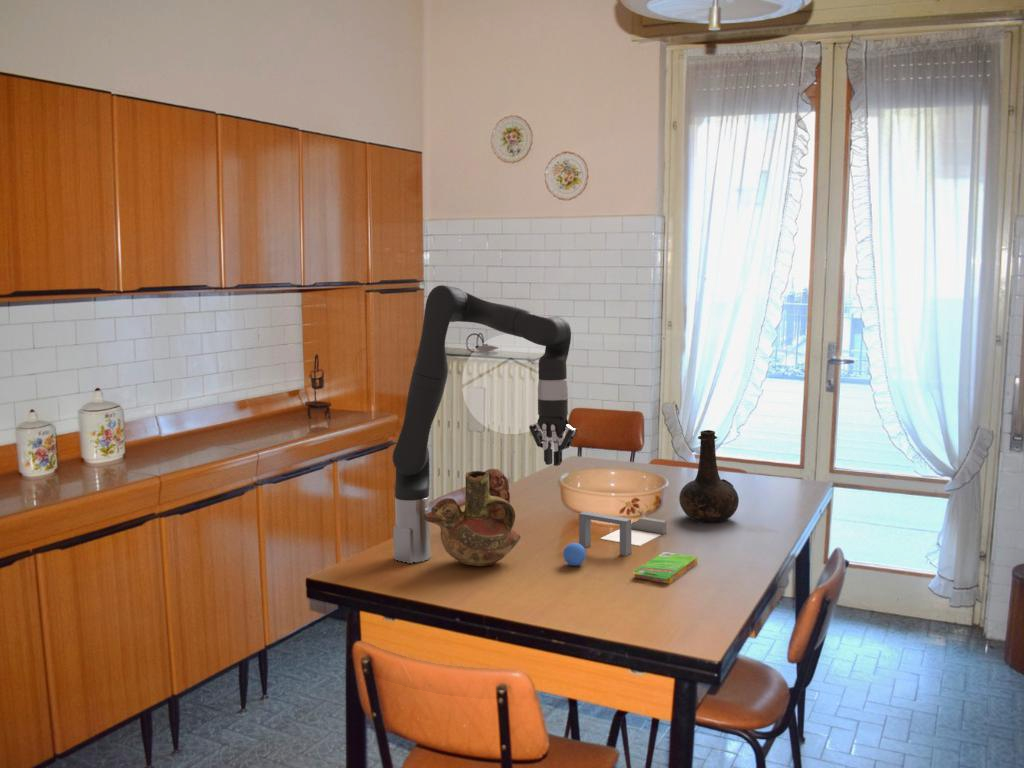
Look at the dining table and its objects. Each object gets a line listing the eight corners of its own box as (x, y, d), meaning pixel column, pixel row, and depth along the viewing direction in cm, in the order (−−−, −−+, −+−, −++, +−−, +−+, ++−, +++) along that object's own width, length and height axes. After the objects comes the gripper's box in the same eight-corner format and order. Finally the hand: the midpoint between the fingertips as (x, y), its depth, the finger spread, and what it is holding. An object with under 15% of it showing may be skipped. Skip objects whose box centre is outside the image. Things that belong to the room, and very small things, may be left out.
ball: (578, 570, 242) (578, 548, 241) (559, 566, 245) (558, 544, 244) (590, 564, 246) (590, 542, 246) (571, 560, 250) (570, 538, 249)
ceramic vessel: (420, 559, 253) (418, 469, 250) (512, 550, 259) (510, 462, 256) (431, 579, 236) (429, 483, 233) (529, 569, 243) (528, 475, 240)
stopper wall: (663, 534, 273) (663, 522, 273) (624, 527, 281) (624, 516, 281) (666, 532, 275) (666, 520, 275) (627, 525, 283) (627, 514, 282)
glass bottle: (749, 523, 284) (751, 433, 280) (699, 530, 277) (700, 438, 274) (716, 509, 300) (717, 424, 297) (668, 515, 293) (669, 428, 290)
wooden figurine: (490, 533, 277) (489, 474, 275) (474, 529, 281) (473, 471, 278) (514, 524, 286) (513, 466, 284) (498, 520, 290) (497, 464, 288)
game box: (697, 568, 246) (666, 586, 229) (663, 562, 251) (630, 580, 234) (698, 556, 246) (667, 574, 229) (663, 551, 251) (631, 568, 234)
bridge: (626, 555, 253) (626, 521, 252) (579, 546, 262) (579, 513, 261) (631, 553, 256) (631, 518, 254) (584, 544, 264) (584, 511, 263)
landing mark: (640, 546, 262) (640, 545, 262) (600, 538, 269) (600, 538, 269) (660, 535, 272) (661, 534, 272) (622, 528, 280) (622, 527, 280)
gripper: (521, 396, 233) (522, 464, 235) (567, 400, 225) (568, 470, 227) (538, 393, 239) (538, 459, 241) (584, 397, 231) (584, 465, 233)
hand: (553, 464), depth 234 cm, fingers closed
